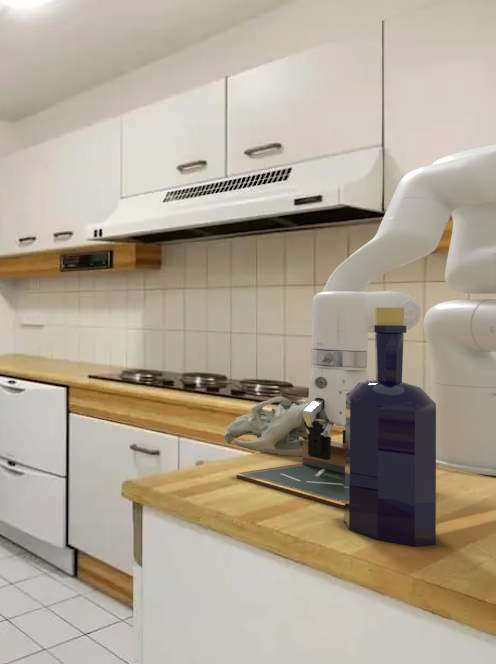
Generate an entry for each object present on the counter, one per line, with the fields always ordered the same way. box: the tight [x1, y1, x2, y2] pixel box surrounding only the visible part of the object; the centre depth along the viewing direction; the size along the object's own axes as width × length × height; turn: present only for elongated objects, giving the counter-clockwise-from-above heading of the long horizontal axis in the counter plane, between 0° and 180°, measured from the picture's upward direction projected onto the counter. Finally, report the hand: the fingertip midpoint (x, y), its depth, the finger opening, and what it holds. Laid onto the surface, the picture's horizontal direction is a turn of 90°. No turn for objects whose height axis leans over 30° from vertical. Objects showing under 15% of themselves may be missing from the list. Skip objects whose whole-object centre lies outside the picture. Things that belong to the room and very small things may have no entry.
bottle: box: [343, 308, 438, 547], centre depth 73 cm, size 9×9×30 cm
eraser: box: [302, 439, 345, 474], centre depth 98 cm, size 4×9×4 cm, turn 20°
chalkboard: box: [236, 462, 345, 511], centre depth 92 cm, size 22×16×1 cm
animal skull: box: [223, 396, 330, 457], centre depth 113 cm, size 18×12×13 cm
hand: (336, 455), depth 98 cm, fingers open, 9 cm apart
